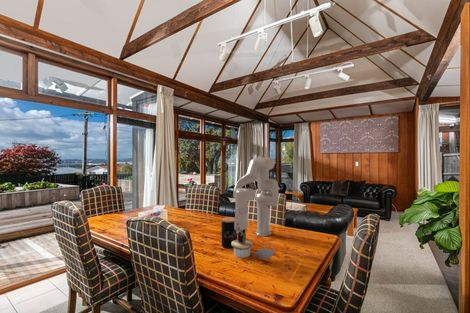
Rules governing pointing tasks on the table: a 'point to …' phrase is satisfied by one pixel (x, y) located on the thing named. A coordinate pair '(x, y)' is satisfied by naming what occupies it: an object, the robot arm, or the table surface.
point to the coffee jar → (228, 232)
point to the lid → (242, 243)
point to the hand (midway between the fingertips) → (241, 240)
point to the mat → (264, 253)
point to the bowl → (241, 252)
